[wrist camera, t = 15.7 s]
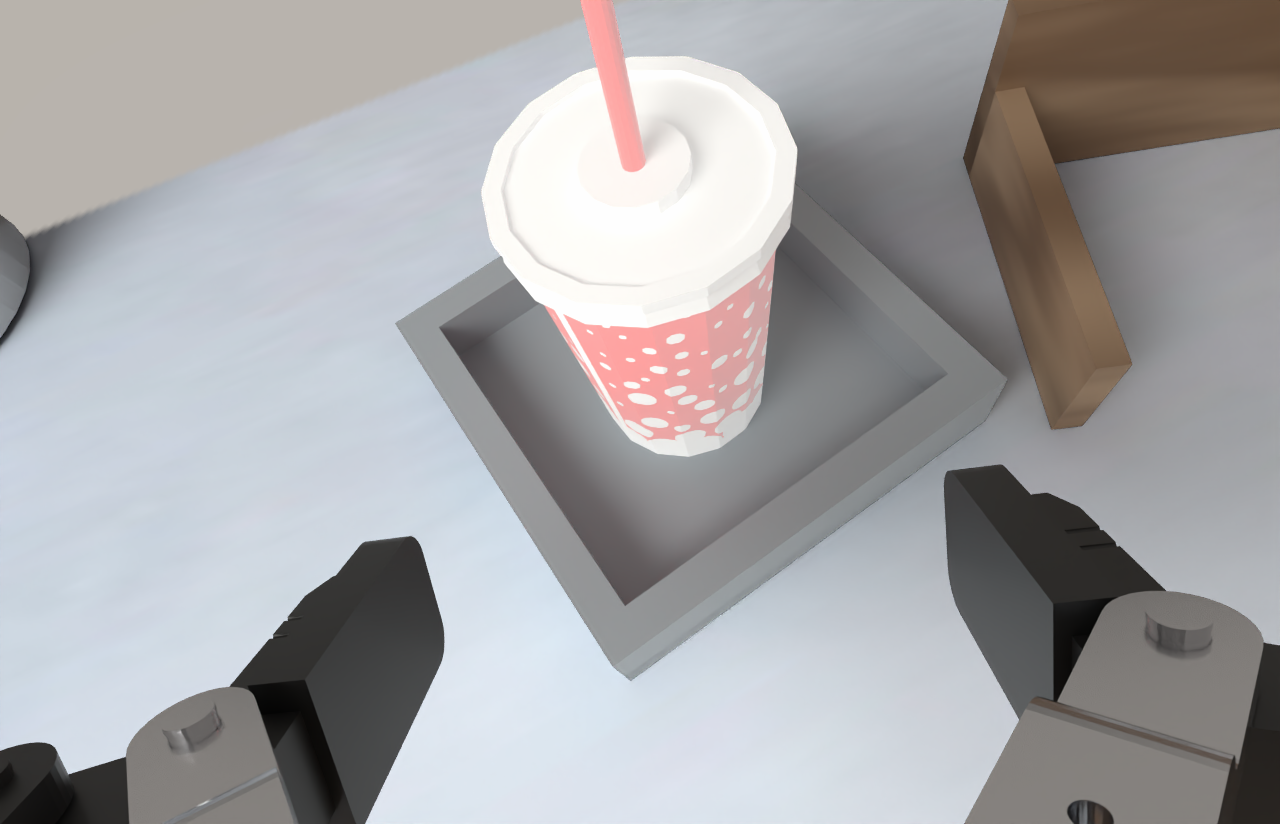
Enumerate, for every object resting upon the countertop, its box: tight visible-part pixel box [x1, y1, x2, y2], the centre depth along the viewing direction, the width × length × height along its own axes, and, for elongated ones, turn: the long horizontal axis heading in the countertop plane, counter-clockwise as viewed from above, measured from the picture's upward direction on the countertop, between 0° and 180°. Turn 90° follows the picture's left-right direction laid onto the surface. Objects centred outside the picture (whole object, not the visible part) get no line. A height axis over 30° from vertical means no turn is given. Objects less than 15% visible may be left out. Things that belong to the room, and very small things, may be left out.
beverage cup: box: [481, 0, 797, 457], centre depth 17 cm, size 6×6×14 cm
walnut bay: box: [963, 0, 1280, 430], centre depth 21 cm, size 10×11×6 cm
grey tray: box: [395, 183, 1008, 681], centre depth 23 cm, size 12×12×2 cm
